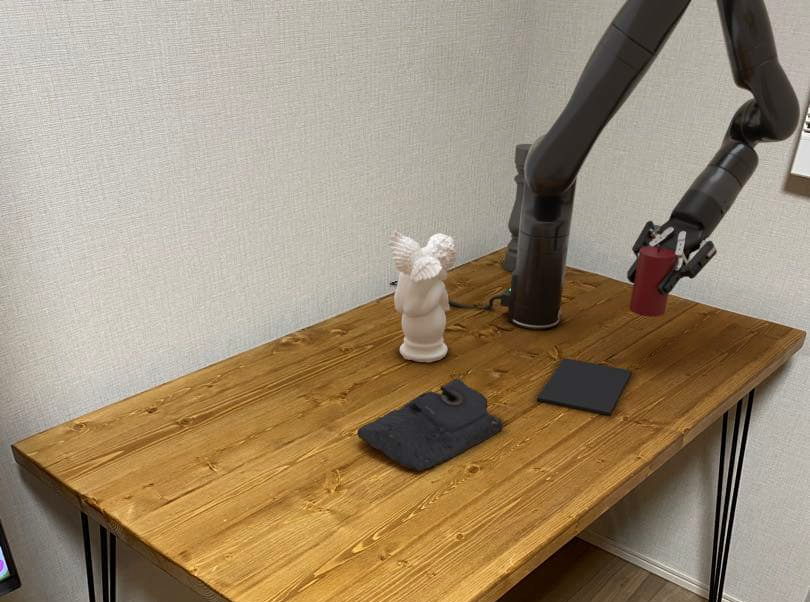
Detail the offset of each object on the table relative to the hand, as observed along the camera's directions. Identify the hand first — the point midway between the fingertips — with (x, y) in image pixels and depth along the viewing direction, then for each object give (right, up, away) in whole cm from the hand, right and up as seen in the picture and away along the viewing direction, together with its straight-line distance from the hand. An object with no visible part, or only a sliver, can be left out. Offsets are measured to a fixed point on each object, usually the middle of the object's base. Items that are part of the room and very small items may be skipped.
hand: (645, 286), depth 148 cm
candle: (+1, -3, +4) cm, 5 cm away
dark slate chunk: (-37, -26, -13) cm, 47 cm away
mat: (-10, -17, 0) cm, 20 cm away
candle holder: (-15, +18, +48) cm, 53 cm away
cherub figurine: (-37, -10, +9) cm, 39 cm away
